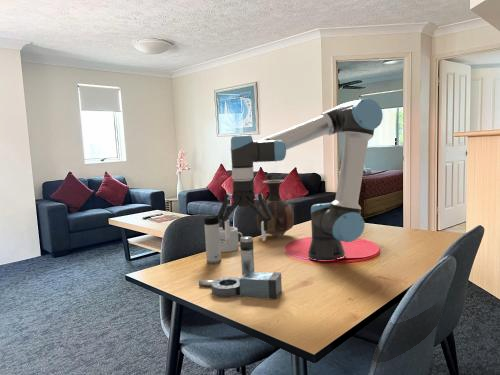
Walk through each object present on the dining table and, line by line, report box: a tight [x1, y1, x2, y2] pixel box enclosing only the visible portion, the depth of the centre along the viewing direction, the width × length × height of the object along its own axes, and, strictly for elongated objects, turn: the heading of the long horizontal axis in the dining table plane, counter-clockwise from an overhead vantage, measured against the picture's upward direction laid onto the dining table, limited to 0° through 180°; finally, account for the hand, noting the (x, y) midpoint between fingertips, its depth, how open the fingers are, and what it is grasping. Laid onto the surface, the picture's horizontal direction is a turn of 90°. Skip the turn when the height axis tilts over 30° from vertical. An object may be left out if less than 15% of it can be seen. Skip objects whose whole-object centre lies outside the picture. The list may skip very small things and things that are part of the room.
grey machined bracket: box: [198, 271, 283, 300], centre depth 127 cm, size 30×11×6 cm, turn 72°
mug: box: [219, 226, 244, 253], centre depth 179 cm, size 14×11×10 cm
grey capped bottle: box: [239, 235, 255, 276], centre depth 135 cm, size 5×5×16 cm
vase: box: [256, 179, 295, 238], centre depth 198 cm, size 23×19×30 cm
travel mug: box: [203, 214, 222, 265], centre depth 161 cm, size 6×7×20 cm
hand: (245, 239), depth 134 cm, fingers open, 13 cm apart
